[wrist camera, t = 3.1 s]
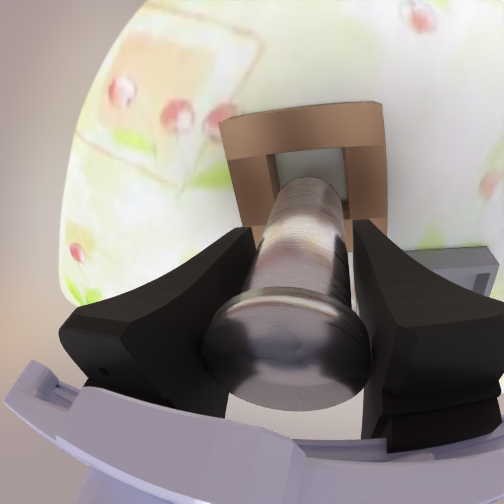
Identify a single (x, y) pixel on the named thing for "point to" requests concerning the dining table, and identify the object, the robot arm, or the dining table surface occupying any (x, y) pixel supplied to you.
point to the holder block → (307, 138)
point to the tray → (460, 267)
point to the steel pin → (293, 312)
